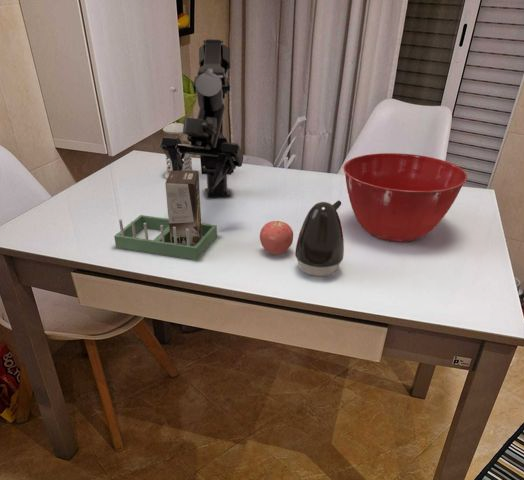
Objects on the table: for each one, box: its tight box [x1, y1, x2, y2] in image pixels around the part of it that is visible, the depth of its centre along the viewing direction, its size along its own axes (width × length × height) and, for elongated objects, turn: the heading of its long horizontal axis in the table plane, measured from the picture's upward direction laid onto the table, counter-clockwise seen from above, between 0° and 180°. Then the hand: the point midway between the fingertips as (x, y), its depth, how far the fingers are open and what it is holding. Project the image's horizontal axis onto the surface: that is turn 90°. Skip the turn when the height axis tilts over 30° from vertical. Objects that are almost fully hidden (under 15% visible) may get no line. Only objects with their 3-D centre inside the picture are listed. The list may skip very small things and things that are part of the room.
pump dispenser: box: [294, 200, 345, 277], centre depth 103 cm, size 10×10×15 cm
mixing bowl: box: [343, 152, 468, 243], centre depth 121 cm, size 28×28×16 cm
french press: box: [162, 86, 193, 179], centre depth 150 cm, size 10×12×25 cm
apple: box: [259, 220, 294, 256], centre depth 112 cm, size 7×7×8 cm
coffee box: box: [165, 170, 203, 246], centre depth 112 cm, size 9×6×16 cm
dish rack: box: [113, 214, 218, 261], centre depth 116 cm, size 13×20×7 cm, turn 74°
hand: (193, 185), depth 114 cm, fingers open, 9 cm apart
